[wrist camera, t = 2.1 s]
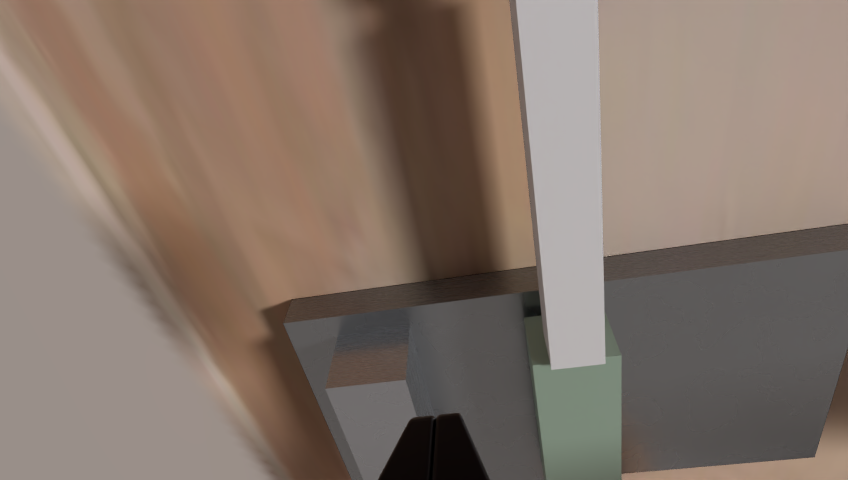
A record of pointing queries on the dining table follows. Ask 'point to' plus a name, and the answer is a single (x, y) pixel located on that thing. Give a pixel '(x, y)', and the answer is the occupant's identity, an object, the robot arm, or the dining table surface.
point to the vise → (638, 343)
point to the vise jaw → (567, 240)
